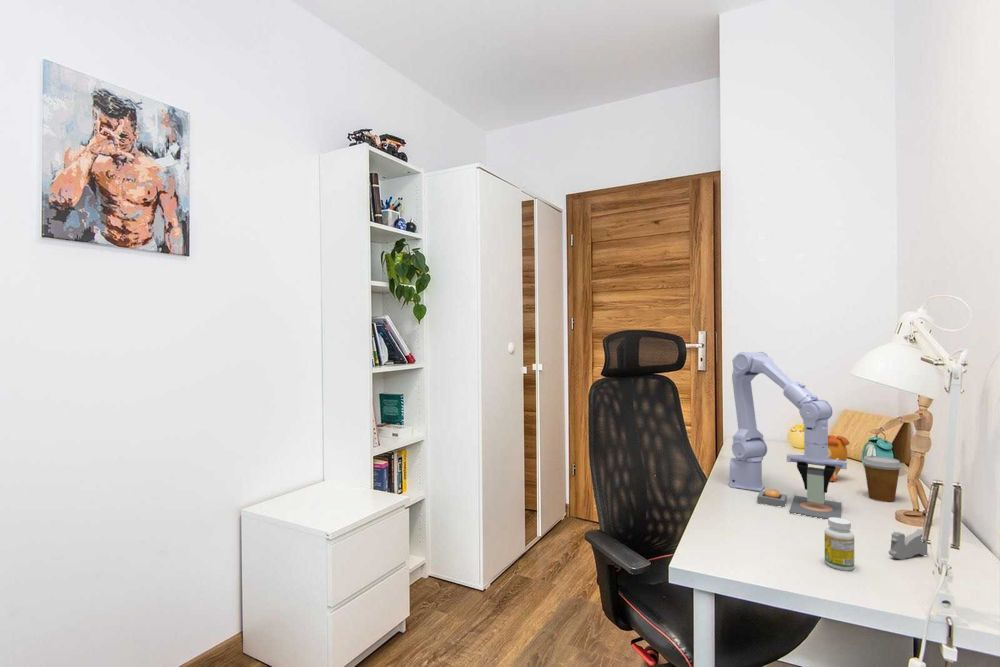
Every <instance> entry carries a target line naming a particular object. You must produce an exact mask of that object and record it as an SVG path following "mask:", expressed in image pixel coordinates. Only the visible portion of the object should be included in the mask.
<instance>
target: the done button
mask: <svg viewBox="0 0 1000 667" xmlns="http://www.w3.org/2000/svg"><path fill="white" fill-rule="evenodd" d="M764 491H765V497H771V498H777V499H780V494H781V492H780V491H779V490H777V489H773V488H766V489H764Z"/></svg>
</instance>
